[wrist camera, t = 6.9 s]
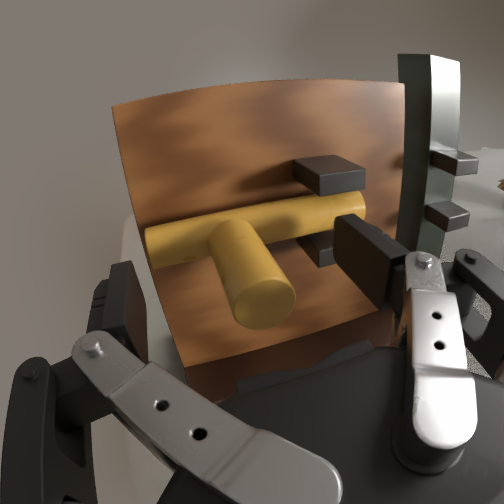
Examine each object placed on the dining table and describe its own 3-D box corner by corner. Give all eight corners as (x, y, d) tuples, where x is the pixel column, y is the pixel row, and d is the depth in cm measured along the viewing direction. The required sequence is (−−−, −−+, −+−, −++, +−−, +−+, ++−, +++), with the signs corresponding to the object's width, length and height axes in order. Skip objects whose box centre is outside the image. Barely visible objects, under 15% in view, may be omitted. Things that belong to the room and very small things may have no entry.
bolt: (160, 355, 9) (141, 307, 8) (154, 258, 14) (144, 219, 13) (422, 278, 11) (431, 234, 10) (346, 216, 16) (347, 181, 15)
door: (195, 416, 17) (88, 54, 8) (180, 332, 24) (118, 70, 14) (448, 324, 21) (494, 67, 11) (394, 272, 28) (409, 59, 18)
